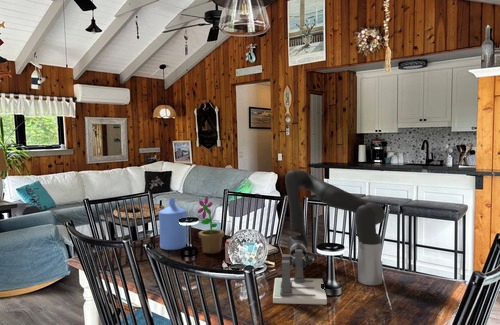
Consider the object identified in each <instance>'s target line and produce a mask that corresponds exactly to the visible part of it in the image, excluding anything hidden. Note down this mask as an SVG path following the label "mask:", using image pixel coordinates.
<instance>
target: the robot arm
mask: <svg viewBox="0 0 500 325" xmlns="http://www.w3.org/2000/svg"><path fill="white" fill-rule="evenodd" d="M284 180H285V188H286V193H287V194H286V195H287V199H288V206H289V220H290V223H289V224H290V230H291V231H293V232H298V233H299V234H300V235H299V234H298V235H290V236H288V238H287V240H286V245H287V248H288V250H289V254H290V266H292V268H294V269H295V268H296V264H295V249H302V251H303V269H305V268H306V267H307V266H311V265H312V264H313V263H315V256H314V255H313V254H312V255H310V256H309V255H308V252H307V249H308V248H309V239H308V236H307V233H306V228H305V227H306V226H305V213H304V212H305V211H304V209H303V207H302V204H301V202H300V199H299V189H304V190H306V191H309V192H311V193H313V194H314V195H315V196H316V198H317V199H318V200H319V201H320V202H321V203H324V204H325V205H327V206H329V207H332V208H334V209H338V210H342V211H348V212H351V213H354V214H355V219H354V220H355V233H356V236H357V271H358V272H357V274H358V275H357V277H358V279H357V280H358V282H359V284H363V285H366V286H378V285H382V284H383V261H382V237H381V235H380V234H378V233H377V225H379V224H380V223H382V222H383V221H384V220H385V218H386V212H385V210H384V208H383V207H382V206H381V205H380V204H378V203H375V202H372V201H370V200H366V199H364V198H360V197H359V196H356V195H355V194H352V193H350V192H348V191H346V190H344V189H342V188H341V187H338V186H336V185H334V184H331V183H329V182H327V181H323V180H321V179H319V178H317V177H315V176H314V175H312V174H310V173H308V172H307V171H305V170H302V169H298V170H297V169H296V170H295V169H294V170H293V169H292V170H289V171H287V173H286V174H285V178H284Z"/></svg>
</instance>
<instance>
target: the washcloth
mask: <svg viewBox="0 0 500 325" xmlns="http://www.w3.org/2000/svg"><path fill="white" fill-rule="evenodd" d="M278 252H279V249H278V248H277V247H275V246H273V245H272V244H268V255H267V256H269V255H272V254H275V253H278Z"/></svg>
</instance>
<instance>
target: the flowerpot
mask: <svg viewBox="0 0 500 325" xmlns="http://www.w3.org/2000/svg"><path fill="white" fill-rule="evenodd" d="M198 203H199V205H200V206H201V207H200V208H199V209H198V210H197V213H198V214H202V215H201V216H202V217H201V218H202V219H203V220H201V222H200V224H203V225H208V224H209V225H210V229H205V230H201V231H199V232H198V238H199V239H200V241H201V248H202V253H205V254H216V253H220V252H221V251H222V242H223V238H224V237H225V232H224V230H223V229H214V228H216V227H217V226H218V224H217V223H213V222H212V221H213V220H212V210H211V209H210V207H212V206H213V202H212V201H211V202H209V197H208V196H205V198H204V201H203V200H201V199H200V200H199V201H198ZM207 215H208V218H207Z"/></svg>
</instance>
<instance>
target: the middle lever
mask: <svg viewBox="0 0 500 325" xmlns="http://www.w3.org/2000/svg"><path fill="white" fill-rule="evenodd" d="M282 260H290V253H289V254H288V253H287V254H285V253H284V254H283V253H282V255H281V261H282ZM281 288H282V282H281ZM290 288H292V282H290Z"/></svg>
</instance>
